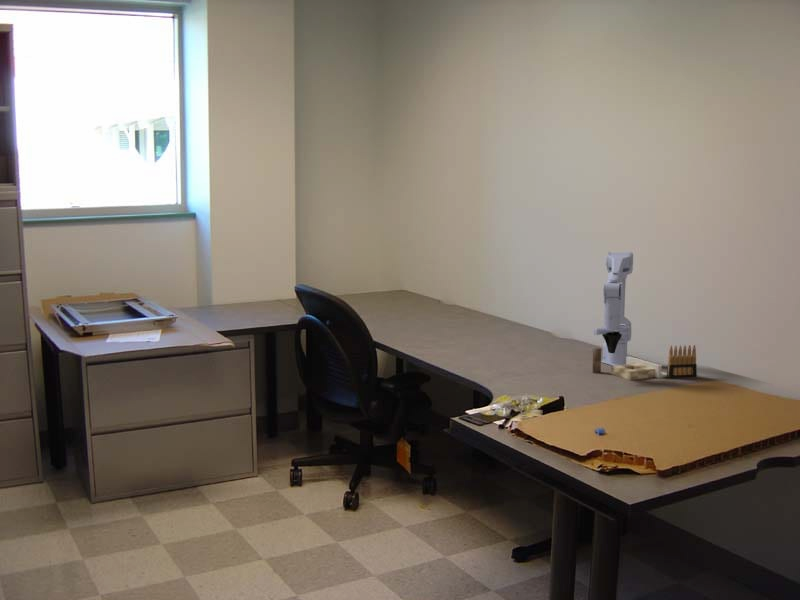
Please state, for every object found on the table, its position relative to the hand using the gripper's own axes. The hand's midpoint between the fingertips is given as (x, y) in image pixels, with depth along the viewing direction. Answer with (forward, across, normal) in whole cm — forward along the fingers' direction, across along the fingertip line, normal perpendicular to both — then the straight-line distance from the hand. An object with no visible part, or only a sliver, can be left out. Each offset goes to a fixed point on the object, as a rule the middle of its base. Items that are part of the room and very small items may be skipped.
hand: (611, 352), depth 312 cm
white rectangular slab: (+9, +18, +2) cm, 20 cm away
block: (+9, +10, 0) cm, 14 cm away
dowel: (+9, +1, +10) cm, 14 cm away
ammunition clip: (+10, +24, -10) cm, 28 cm away
